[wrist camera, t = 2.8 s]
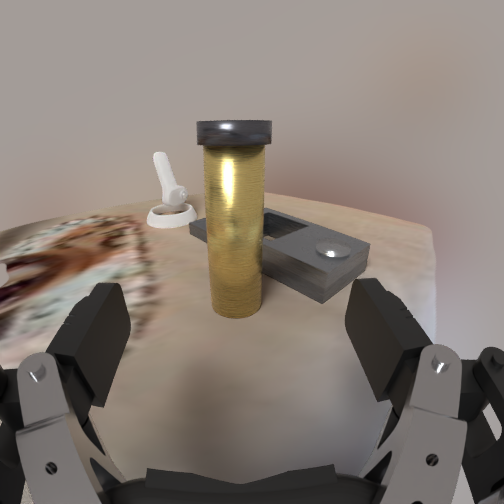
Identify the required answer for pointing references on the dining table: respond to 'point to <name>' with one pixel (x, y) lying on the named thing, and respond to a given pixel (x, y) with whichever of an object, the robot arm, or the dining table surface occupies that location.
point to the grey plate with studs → (305, 254)
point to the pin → (234, 211)
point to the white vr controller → (170, 198)
